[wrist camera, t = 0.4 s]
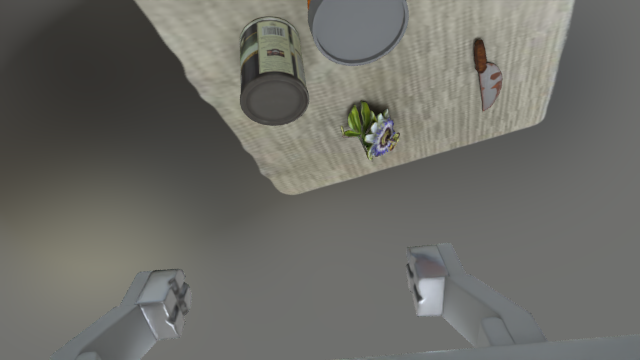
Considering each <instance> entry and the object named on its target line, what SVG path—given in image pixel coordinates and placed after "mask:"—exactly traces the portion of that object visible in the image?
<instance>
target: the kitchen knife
mask: <svg viewBox="0 0 640 360" xmlns="http://www.w3.org/2000/svg"><path fill="white" fill-rule="evenodd" d="M474 56H475V64H476V68H475V69H476V70H477V72H478V73H479V78H480V87H481V95H482V103H483V111H485V110H486V109H488V108H490V107H491V106H492V104H493V103H494V102H495V100H496V98H497V97H498V95H499V93H500V90H501V87H502V74H501V71H500V70H499V68H498V67H497V66H496V65H494V64H492V63H486V61H487V59H486V52H485V47H484V43H483V41H482V40H477V41H476V42H475V48H474Z"/></svg>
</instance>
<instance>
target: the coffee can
mask: <svg viewBox="0 0 640 360" xmlns="http://www.w3.org/2000/svg"><path fill="white" fill-rule="evenodd" d="M240 57H241V95H240V105H241V108H242V110H243V112H244V113H245V114H246V115H247V116H248V117H249V118H250V119H251V120H253V121H255V122H257V123H260V124H264V125H271V126H277V125H284V124H288V123H290V122H293V121H295V120H296V119H298V118H299V117H301V116H302V115H303V114H304V112H305V111H306V109H307V107H308V104H309V95H308V91H307V87H306V81H305V75H304V68H303V61H302V55H301V48H300V39H299V35H298V33H297V31H296V30H295V28H294V27H293V26H292V25H291V24H290V23H288V22H286V21H285V20H282V19H279V18H275V17H264V18H260V19H256V20H255V21H253V22H251V23H250V24H248V25H247V26H246V27H245V29H244V30H243V32H242V34H241V36H240Z"/></svg>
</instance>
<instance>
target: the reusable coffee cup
mask: <svg viewBox="0 0 640 360" xmlns="http://www.w3.org/2000/svg"><path fill="white" fill-rule="evenodd" d="M408 19H409V11H408V6H407V2H406V0H308V23H309V27H310V31H311V33H312V36H313V39H314V42H315V44H316V46H317V48H318V50H319V51H320V52H321V53H322V54H323V55H324V56H325V57H326V58H328V59H329V60H331V61H333V62H335V63H338V64H341V65H348V66H358V65H364V64H368V63H371V62H374V61H376V60H378V59H380V58H382V57H383V56H385V55H386V54H388V53H389V52H390V51H391V50H393V49H394V47H395V46H396V45H397V44H398V43H399V41H400V40H401V38H402V37H403V35H404V33H405V30H406V28H407V24H408Z"/></svg>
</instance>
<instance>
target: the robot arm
mask: <svg viewBox="0 0 640 360" xmlns="http://www.w3.org/2000/svg"><path fill="white" fill-rule="evenodd" d="M407 259H408V262H409V263H408V264H407V267H406V268H407V281H408V285H409V289H410V292H411V293H413V303H414V306H415V309H416V313H417V316H418V317H426V316H443V318H445V319H446V320H447V321H448V322H449V323H450V324H451V325H452V326H453V327H454V328H455V329H456V330H457V331H458V332H459V333H460V334H461V335H462V336H463V337H465V338H466V339H467V340H468V341H469V342H470V343H471V344H472V345H473V346H474V347H475V348H469V349H456V350H444V351H432V352H421V353H408V354H398V355H385V356H373V357H361V358H350V359H349V358H348V359H337V360H640V334H636V335H624V336H612V337H600V338H589V339H576V340H564V341H552V342H548V341H547V339H546V337H545V336H544V334H543V332H542V331H541V329H540V327H539V326H538V324H537V322H536V321H535V319H534V318H533V316H532V314H531V313H530V312H528V311H527V310H525V309H524V308H522V307H520V306H519V305H517V304H516V303H514V302H513V301H511V300H510V299H508V298H506V297H505V296H503V295H502V294H500V293H499V292H497V291H496V290H494V289H492V288H491V287H489V286H488V285H486V284H485V283H483V282H481V281H480V280H478V279H477V278H475V277H474V276H472V275H466V273H465V271H464V269H463V267H462V265H461V263H460V261H459V259H458V256H457V254H456V253H455V250H454V248H453V246H452V244H450V243H442V244H436V245H425V246H415V247H407ZM184 279H185V275H184V272H183V270H182V269H170V270H155V271H144V272H139V273H138V274H137V275H136V277H135V278H134V280H133V282H132V284H131V286H130V287H129V289H128V291H127V293H126V295H125V297H124V298H123V300H122V302H121V304H120V306H118V307H114V308H113V309H111V310H110V311H109V312H107V313H106V314H105V315H104V316H102V317H101V318H99V319H98V320H97V321H96V322H94V323H93V324H92V325H90V326H89V327H88V328H86V329H85V330H84V331H82V332H81V333H80V334H78V335H77V336H76V337H74V338H73V339H72V340H70V341H69V342H68V343H66V344H65V345H64V346H63V347H61V348H60V349H58V350H57V351H56V352H54V353H53V354H52V356H51V357H50V359H49V360H140V359H141V358H142V357H143V356H144V355H145V354H146V353H147V351H148V350H149V349H150V348H151V347H152V346H153V345H154V344H155V343H156V340H164V339H173V338H180V336H181V333H182V331H183V328H184V325H185V319H184V316H185V315H186V314H187V313H188V312H189V310H190V307H191V301H192V294H191V289H190V287H189V285H188V284H186V283H185V282H184Z"/></svg>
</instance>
